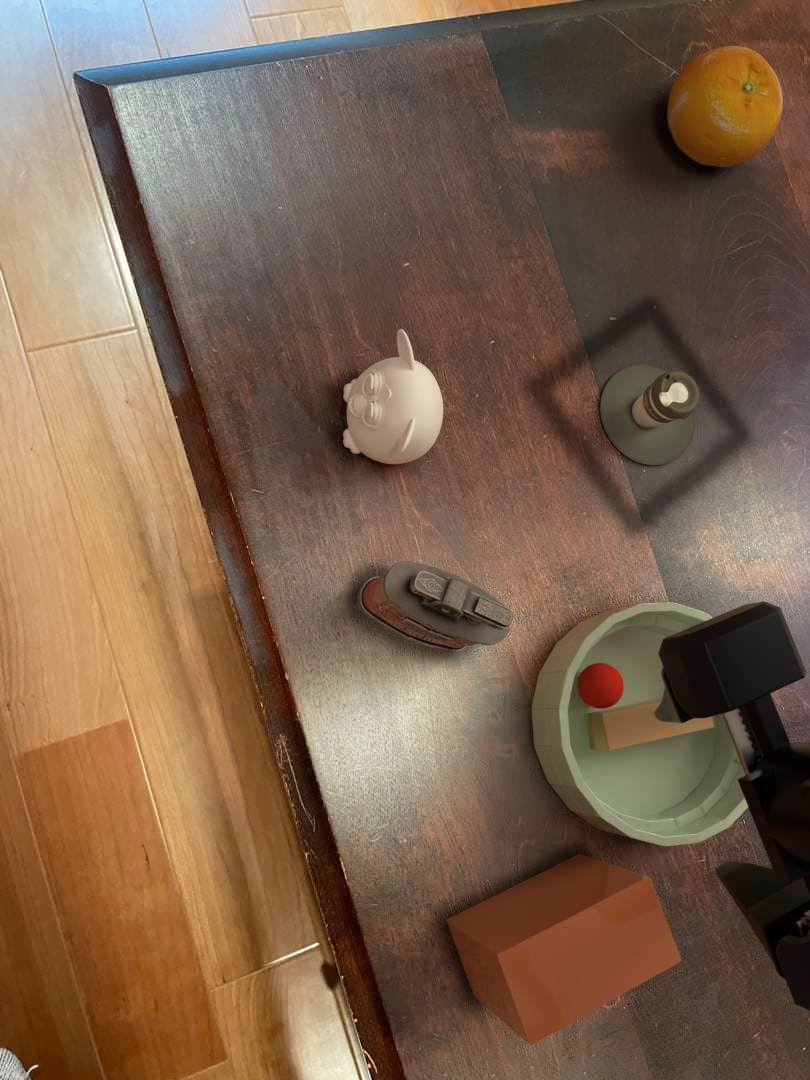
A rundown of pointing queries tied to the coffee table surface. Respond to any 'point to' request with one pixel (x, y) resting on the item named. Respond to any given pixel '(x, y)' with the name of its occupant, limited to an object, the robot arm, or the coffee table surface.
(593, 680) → the tomato ball
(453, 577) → the lighter
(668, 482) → the coffee table surface
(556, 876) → the rectangular block
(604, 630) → the bowl
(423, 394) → the figurine
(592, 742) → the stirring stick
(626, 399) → the coffee cup
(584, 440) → the coffee table surface
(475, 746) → the coffee table surface
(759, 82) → the fruit
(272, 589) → the coffee table surface
